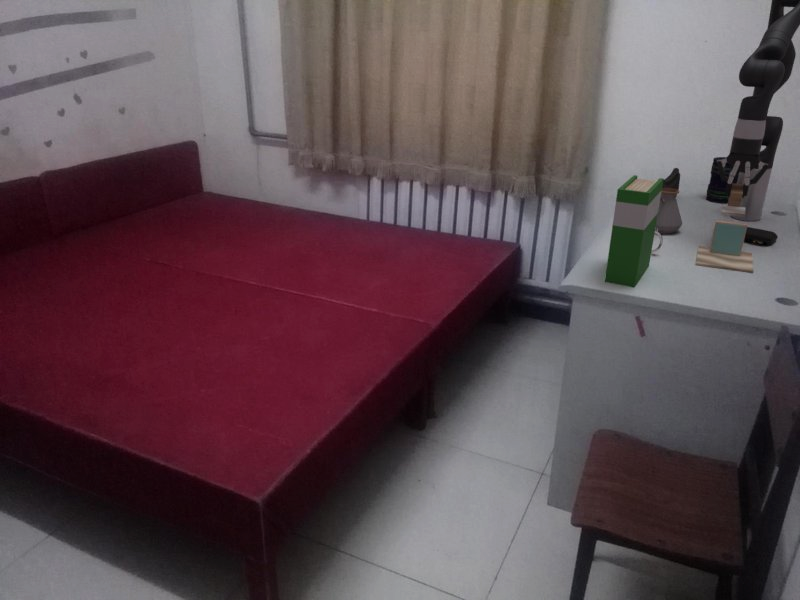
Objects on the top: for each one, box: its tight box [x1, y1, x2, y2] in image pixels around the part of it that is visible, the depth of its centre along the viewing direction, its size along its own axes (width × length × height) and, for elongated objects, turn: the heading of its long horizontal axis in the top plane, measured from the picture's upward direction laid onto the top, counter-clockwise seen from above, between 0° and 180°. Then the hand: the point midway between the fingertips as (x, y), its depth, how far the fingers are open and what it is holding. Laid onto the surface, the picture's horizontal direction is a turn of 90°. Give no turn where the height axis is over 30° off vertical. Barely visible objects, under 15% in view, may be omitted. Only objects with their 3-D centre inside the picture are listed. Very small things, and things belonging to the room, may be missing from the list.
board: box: [695, 245, 755, 274], centre depth 182 cm, size 16×14×1 cm
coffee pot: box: [656, 188, 683, 235], centre depth 200 cm, size 21×12×15 cm, turn 143°
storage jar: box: [705, 156, 739, 205], centre depth 238 cm, size 10×10×15 cm
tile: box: [709, 220, 748, 256], centre depth 183 cm, size 2×8×9 cm, turn 65°
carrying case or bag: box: [744, 226, 779, 247], centre depth 199 cm, size 11×3×15 cm
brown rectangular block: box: [720, 183, 745, 217], centre depth 187 cm, size 10×6×5 cm, turn 155°
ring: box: [651, 227, 664, 254], centre depth 185 cm, size 7×3×8 cm, turn 61°
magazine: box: [657, 167, 681, 192], centre depth 235 cm, size 18×3×31 cm
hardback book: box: [604, 174, 665, 289], centre depth 167 cm, size 18×7×24 cm, turn 150°
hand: (735, 196), depth 189 cm, fingers closed on brown rectangular block, 3 cm apart
